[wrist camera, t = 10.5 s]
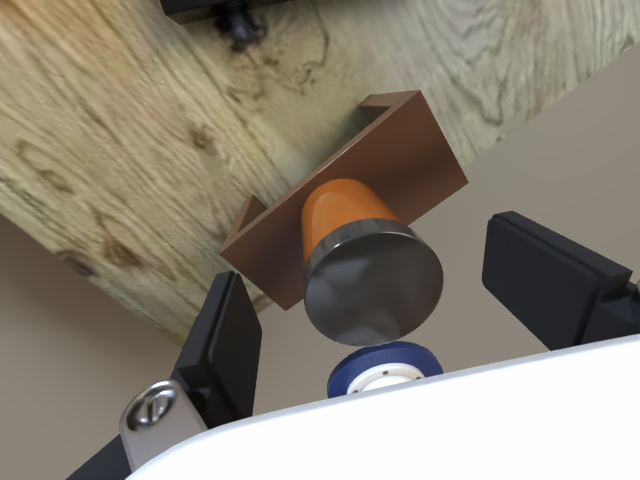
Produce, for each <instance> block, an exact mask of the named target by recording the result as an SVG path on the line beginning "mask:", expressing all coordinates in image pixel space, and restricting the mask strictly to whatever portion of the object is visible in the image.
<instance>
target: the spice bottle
mask: <svg viewBox="0 0 640 480" xmlns="http://www.w3.org/2000/svg"><path fill="white" fill-rule="evenodd" d="M301 231H302V244H303V257H304V272H303V293H304V305H305V310H306V312H307V315H308V317H309V319H310V321H311V322H312V324H313V325H314V326H315V327H316V329H318V330H319V331H320V332H321V333H322V334H323V335H325V336H326V337H328V338H329V339H331V340H333V341H336V342H339V343H341V344H345V345H350V346H361V347H366V346H376V345H382V344H386V343H389V342H392V341H395V340H397V339H400V338H401V337H404V336H406V335H407V334H409V333H411V332H412V331H414V330H415V329H416V328H418V327H419V326H420V325H421V324H422V323H424V321H425V320H426V319H427V318H428V317H429V316H430V315H431V313H432V312H433V311H434V309H435V308H436V306H437V304H438V302H439V299H440V297H441V294H442V290H443V281H444V279H443V271H442V266H441V263H440V261H439V259H438V257H437V255H436V254H435V252H434V251H433V250H432V249H431V248H430V247H429V246H428V245H427V244H426V243H425V242H424V241H423V240H422V238H421V237H419V235H418V234H417V233H416V232H414V231H413V230H412V229H411V228H409V227H407V226H406V225H404V223H403V222H402V221H401V220H400V219H399V218H398V217H397V216H396V215H395V214H394V213H393V212H392V211H391V209H390V208H389V207H388V206H387V205H386V204H385V203H384V202H383V201H382V200H381V199H380V198H379V197H378V195H377V194H376V193H375V192H374V191H373V190H372V189H371V188H370V187H368V186H367V185H365V184H364V183H362V182H359V181H357V180H353V179H336V180H332V181H329V182H327V183H324V184H323V185H321V186H319V187H318V188H317V189H315V190H314V191H313V192H312V193H311V194H310V196H309V197H308V198H307V200H306V202H305V204H304V206H303V209H302V213H301Z"/></svg>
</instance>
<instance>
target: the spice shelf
mask: <svg viewBox="0 0 640 480" xmlns="http://www.w3.org/2000/svg"><path fill="white" fill-rule="evenodd" d="M359 107H360V109H361V110H362V112H363V113H364V115H365V116H366V118H367V120H368V121H369V123H370V125H368V126H367V127H366V128H365V129H364V130H362V131H361V132H360V133H359V134H358V135H356V136H355V137H354V138H353V139H351V140H350V141H349V142H348V143H347V144H345V145H344V146H343V147H342V148H340V149H339V150H338V151H337V152H336V153H334V154H333V155H332V156H331V157H330V158H328V159H327V160H326V161H325V162H323V163H322V164H321V165H320V166H319V167H317V168H316V169H315V170H314V171H313V172H311V173H310V174H309V175H308V176H306V177H305V178H304V179H303V180H302V181H300V182H299V183H298V184H297V185H295V186H294V187H293V188H292V189H291V190H289V191H288V192H287V193H286V194H285V195H283V196H282V197H281V198H280V199H278V200H277V201H276V202H275V203H274V204H272V205H271V206H270V207H269V208H268V209H267V208H266V207H265V206H264V205H263V204H262V203H261V202H260V201H259V200H258V199H257V198H256V197H255V196H254V195H252V196H251V197H250V198H248V199H247V200H246V201H245V202H244V204H243V206H242V208H241V210H240V212H239V214H238V216H237V218H236V220H235V222H234V224H233V226H232V229H231V231H230V233H229V235H228V237H227V239H226V241H225V243H224V245H223V247H222V249H221V251H220V253H219V254H220V255H221V256H222V257H223V258H224V259H226V260H227V261H228V262H229V263H230V264H231V265H232V266H234V267H235V268H236V269H237V270H238V271H239V272H241V273H242V274H243V275H244V276H245V277H246V278H248V279H249V280H250V281H251V282H252V283H253V284H255V285H256V286H257V287H258V288H259V289H260V290H262V291H263V292H264V293H265V294H266V295H267V296H269V297H270V298H271V299H272V300H273V301H274V302H275V303H277V304H278V305H279V306H280V307H281V308H282V309H284V310H285V311H286V310H288V309H289V308H291V307H292V306H294V305H295V304H297V303H298V302H300V301H301V300H302V299H304V293H303V272H304V257H303V244H302V231H301V213H302V209H303V206H304V204H305V202H306V200H307V198H308V197H309V196H310V194H311V193H312V192H313V191H314V190H315V189H317V188H318V187H319V186H321V185H323V184H324V183H327V182H329V181H332V180H336V179H353V180H357V181H359V182H362V183H364V184H365V185H367V186H368V187H370V188H371V189H372V190H373V191H374V192H375V193H376V194H377V195H378V197H379V198H380V199H381V200H382V201H383V202H384V203H385V204H386V205H387V206H388V207H389V208H390V209H391V211H392V212H393V213H394V214H395V215H396V216H397V217H398V218H399V219H400V220H401V221H402V222H403V223H404V225H406V226H408V225H409V224H411V223H412V222H414V221H415V220H416V219H418V218H419V217H421V216H422V215H423V214H425V213H426V212H428V211H429V210H430V209H432V208H433V207H435V206H436V205H438V204H439V203H440V202H442V201H443V200H445V199H446V198H448V197H449V196H451V195H452V194H453V193H455V192H456V191H458V190H459V189H461V188H462V187H463V186H465V185H466V184H468V180H467V179H466V176H465V175H464V173H463V171H462V169H461V167H460V165H459V163H458V161H457V159H456V157H455V155H454V154H453V152H452V150H451V148H450V146H449V144H448V142H447V140H446V138H445V136H444V134H443V132H442V131H441V129H440V127H439V125H438V123H437V121H436V119H435V117H434V115H433V113H432V111H431V109H430V108H429V106H428V104H427V102H426V100H425V98H424V96H423V94H422V92H421V90H414V91H405V92H396V93H386V94H377V95H370V96H368V97H367V98H366V99H365V100H364V101H363V102H361V103H360V104H359Z"/></svg>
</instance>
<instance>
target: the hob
mask: <svg viewBox="0 0 640 480" xmlns="http://www.w3.org/2000/svg"><path fill="white" fill-rule="evenodd" d="M288 1H293V0H160V2H161V5H162V8H163V11H164V14H165V15H166V16H168V17H169V18H170V19H172V20H173V21H175V22H176V23H178V24H179V25H183V24H187V23H192V22H197V21H201V20H206V19H210V18H215V17H219V16H224V15H229V14H233V13H238V12H242V11H247V10H252V9H256V8H261V7H265V6H270V5H275V4H279V3H284V2H288Z"/></svg>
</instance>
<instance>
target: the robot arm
mask: <svg viewBox="0 0 640 480" xmlns="http://www.w3.org/2000/svg"><path fill="white" fill-rule="evenodd" d="M632 272H633V271H632V270H630V269H628V268H626V267H624V266H622V265H620V264H618V263H615V262H614V261H611V260H610V259H608V258H606V257H604V256H602V255H600V254H598V253H596V252H594V251H592V250H590V249H588V248H586V247H584V246H582V245H580V244H578V243H576V242H574V241H572V240H570V239H568V238H566V237H564V236H562V235H560V234H558V233H556V232H554V231H552V230H550V229H548V228H546V227H544V226H542V225H540V224H538V223H536V222H534V221H532V220H530V219H528V218H526V217H524V216H522V215H520V214H518V213H516V212H514V211H508V212H503V213H498V214H495V215H493V217H492V219H490V220H489V222H488V226H487V234H486V243H485V253H484V262H483V271H482V282H483V285H484V286H485V288H486V289H487V290H488V291H489V292H490V293H491V294H493V295H494V296H495V297H496V298H497V299H498V300H499V301H500V302H501V303H502V304H503V305H504V306H505V307H506V308H507V309H508V310H509V311H510V312H511V313H512V314H513V315H514V316H515V317H516V318H517V319H519V320H520V321H521V322H522V323H523V324H524V325H525V326H526V327H527V328H528V329H529V330H530V331H531V332H532V333H533V334H534V335H535V336H536V337H537V338H538V339H539V340H540V341H541V342H542V343H543V344H544V345H545V346H546V347H547V348H548V349H549V350H550V352H545V353H540V354H535V355H530V356H525V357H521V358H516V359H512V360H506V361H501V362H497V363H492V364H487V365H483V366H478V367H473V368H469V369H464V370H459V371H454V372H450V373H445V374H440V375H435V376H431V377H426V378H425V376H424V375H423V373H422V372H421V371H420V370H419V369H417V368H416V367H414V366H412V365H408V364H404V363H387V364H381V365H378V366H375V367H372V368H370V369H368V370H366V371H364V372H363V373H361V374H360V375H359V376H357V377H356V378H355V379H354V380H353V382H352V383H351V384H350V386H349V388H348V391H347V395H343V396H339V397H334V398H330V399H325V400H320V401H316V402H311V403H307V404H303V405H299V406H294V407H290V408H286V409H282V410H277V411H274V412H269V413H265V414H260V415H256V416H252V413H253V404H254V396H255V388H256V380H257V372H258V363H259V355H260V347H261V339H262V329H261V326H260V323H259V320H258V318H257V315H256V313H255V310H254V308H253V305H252V303H251V300H250V298H249V295H248V293H247V290H246V288H245V285H244V283H243V280H242V278H241V275H240V274H239V273H237V274H235V273H234V271H228V272H224V273H219V274H216V276H215V278H214V281H213V283H212V285H211V288H210V290H209V292H208V295H207V297H206V299H205V302H204V304H203V307H202V309H201V311H200V314H199V315H198V316H197V317H196V319H195V321H194V323H193V326H192V328H191V330H190V333H189V335H188V337H187V340H186V342H185V344H184V347H183V349H182V351H181V353H180V356H179V358H178V360H177V363H176V365H175V368H174V370H173V372H172V374H171V377H170V379H166V380H161V381H158V382H156V383H153V384H151V385H150V386H148V387H147V388H145V389H143V390H142V391H141V392H140V393H139V394H137V395H136V396H135V397H134V398H133V400H132V401H131V402H130V403H129V404H128V405H127V407H126V409H125V410H124V412H123V413H122V416H121V419H120V422H119V431H120V434H119V435H118V436H116V437H115V438H114V439H113V440H112V441H111V442H109V443H108V444H107V445H106V446H105V447H103V448H102V449H101V450H100V451H99V452H98V453H96V454H95V455H94V456H93V457H92V458H90V459H89V460H88V461H87V462H86V463H85V464H83V465H82V466H81V467H80V468H79V469H77V470H76V471H75V472H74V473H73V474H71V475H70V476H69V477H68V478H67V479H66V480H640V280H639V281H638V282H637V284H636V285H635V284H633V283H632V282H630V281H629V279H630V277H631V275H632Z"/></svg>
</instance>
